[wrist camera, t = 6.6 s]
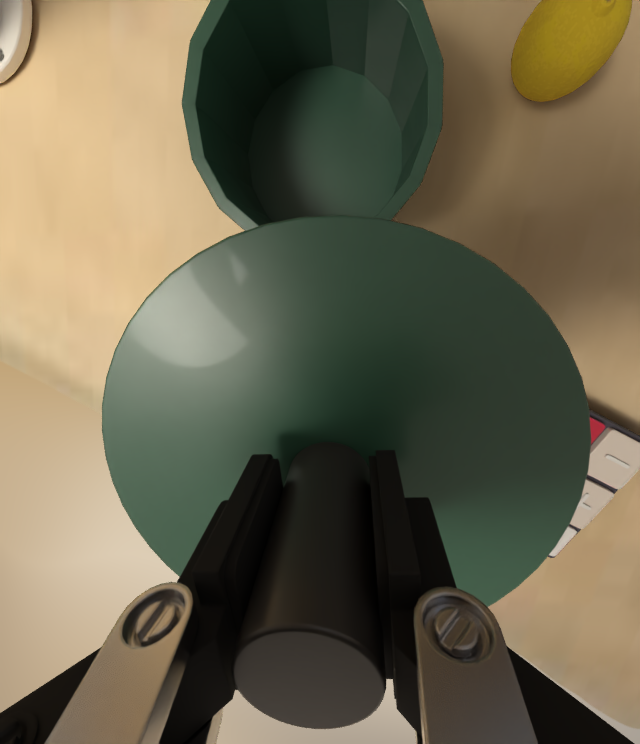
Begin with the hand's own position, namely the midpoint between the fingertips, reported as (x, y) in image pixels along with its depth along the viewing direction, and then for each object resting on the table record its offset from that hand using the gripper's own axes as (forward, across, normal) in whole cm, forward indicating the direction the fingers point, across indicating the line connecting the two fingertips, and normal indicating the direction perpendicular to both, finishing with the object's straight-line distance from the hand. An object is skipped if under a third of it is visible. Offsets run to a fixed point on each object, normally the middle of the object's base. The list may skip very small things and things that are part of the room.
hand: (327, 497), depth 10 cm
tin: (+24, +1, -14) cm, 28 cm away
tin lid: (+2, 0, 0) cm, 2 cm away
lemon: (+25, -15, -18) cm, 34 cm away
